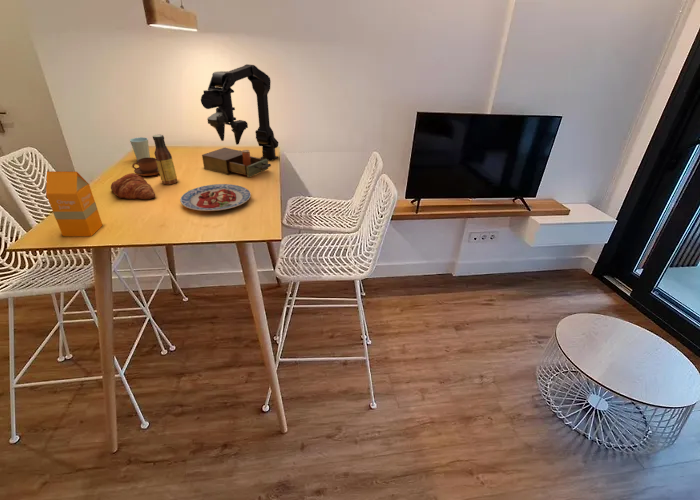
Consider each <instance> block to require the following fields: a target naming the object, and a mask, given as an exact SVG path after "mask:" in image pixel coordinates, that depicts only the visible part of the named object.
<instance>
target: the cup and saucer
mask: <svg viewBox="0 0 700 500" xmlns="http://www.w3.org/2000/svg"><path fill="white" fill-rule="evenodd" d="M136 165H138V167H135V166H136ZM131 167H132V169H134V170H133V173H134V174H137V175H139V176H140V177H142V176H143V177H149V176H150V177H151V176H157V175H160V173H159V170H158V166H157V162H156V158H155V157H151V156H150V157H149V158H142V159H139V160H138V161H137V162H133V163H132V165H131Z"/></svg>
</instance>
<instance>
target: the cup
mask: <svg viewBox="0 0 700 500" xmlns="http://www.w3.org/2000/svg"><path fill="white" fill-rule="evenodd" d="M129 143H130V145H131V147H132V150H133V152H134V155H135V158H136V161H137V162H138V160H139V159H142V158H149V157H151V155H150V145H149V138H147V137H142V136H141V137H133V138H130V139H129Z"/></svg>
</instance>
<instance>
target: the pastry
mask: <svg viewBox="0 0 700 500" xmlns="http://www.w3.org/2000/svg"><path fill="white" fill-rule="evenodd" d="M110 190H111V191H112V193H113V194H115V195H116V197H118V198H119V199H127V200H143V201H145V200H148V201H149V200H152V199H155V198H156V193H155V191H154V188H153V187H152V185H151V184H150V183H148V181H146V180H145V178H144V177H142V176H141V175H138V174H136V173H135V172H131V173H127V174H125V175H122V176H121V177H119V178H118V179H116V180H114V181H113V182H111V184H110Z"/></svg>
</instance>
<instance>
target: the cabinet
mask: <svg viewBox="0 0 700 500" xmlns="http://www.w3.org/2000/svg"><path fill="white" fill-rule="evenodd" d="M242 151H243V150H238V149H234V148H230V147H222V148H218V149H216V150H213V151H209V152H207V153H203V154H201V158H202V164H203V169H204V170H208V171H212V172H217V173H221V174H224V175H231V174H232V173H234V172H231V171H229V170H228V163H227V162H228V161H230V160H233V159H236V158H239V157H241V156H242Z"/></svg>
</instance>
